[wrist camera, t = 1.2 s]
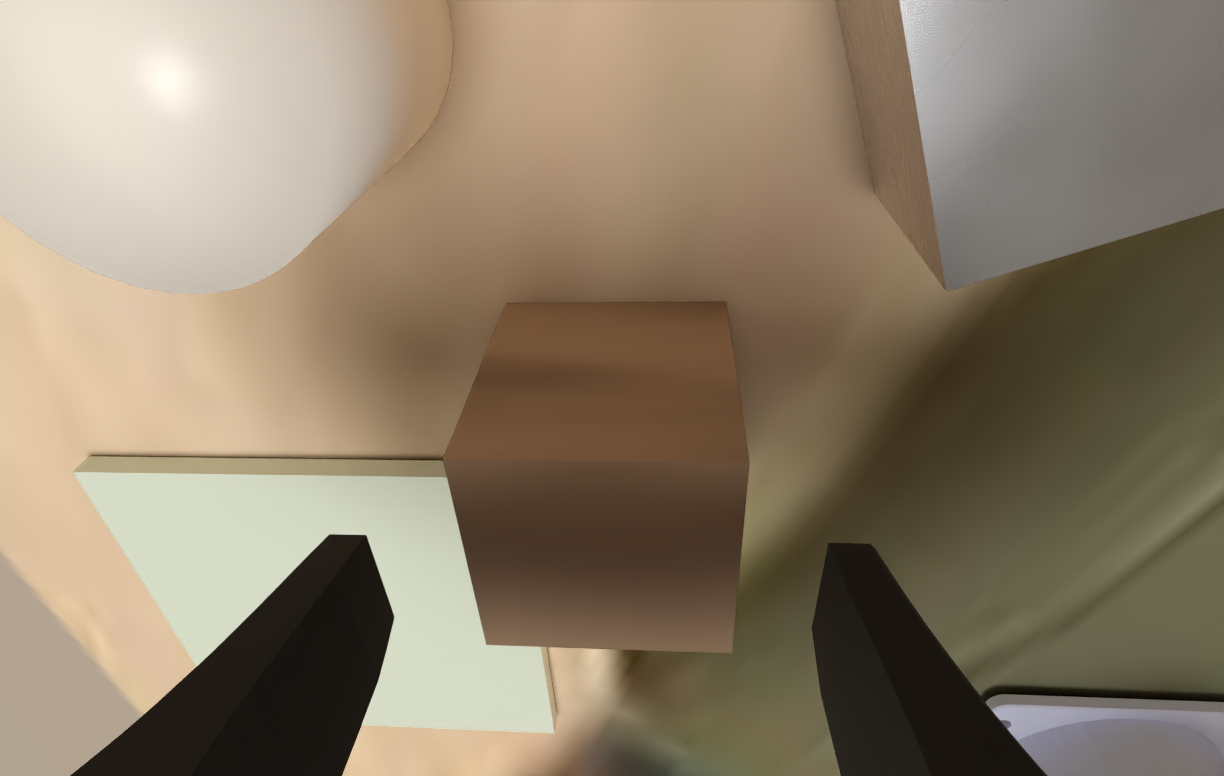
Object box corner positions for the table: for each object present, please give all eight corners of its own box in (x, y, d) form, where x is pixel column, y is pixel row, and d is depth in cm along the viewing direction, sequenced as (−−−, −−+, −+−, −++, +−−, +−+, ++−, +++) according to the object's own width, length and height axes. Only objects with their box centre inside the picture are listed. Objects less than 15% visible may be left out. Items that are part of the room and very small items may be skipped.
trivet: (557, 715, 23) (554, 733, 23) (238, 702, 24) (229, 719, 23) (518, 461, 17) (513, 478, 16) (89, 456, 18) (72, 472, 17)
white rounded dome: (474, 169, 13) (384, 292, 9) (216, 175, 13) (14, 295, 9) (421, -178, 10) (251, -235, 6) (95, -158, 10) (-276, -199, 6)
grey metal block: (1119, 106, 12) (1297, 185, 8) (873, 191, 13) (946, 291, 9) (1115, -178, 10) (1350, -221, 6) (823, -49, 11) (894, -28, 7)
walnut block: (716, 468, 17) (731, 652, 13) (530, 466, 17) (486, 645, 13) (725, 300, 14) (749, 462, 10) (506, 302, 14) (443, 459, 10)
